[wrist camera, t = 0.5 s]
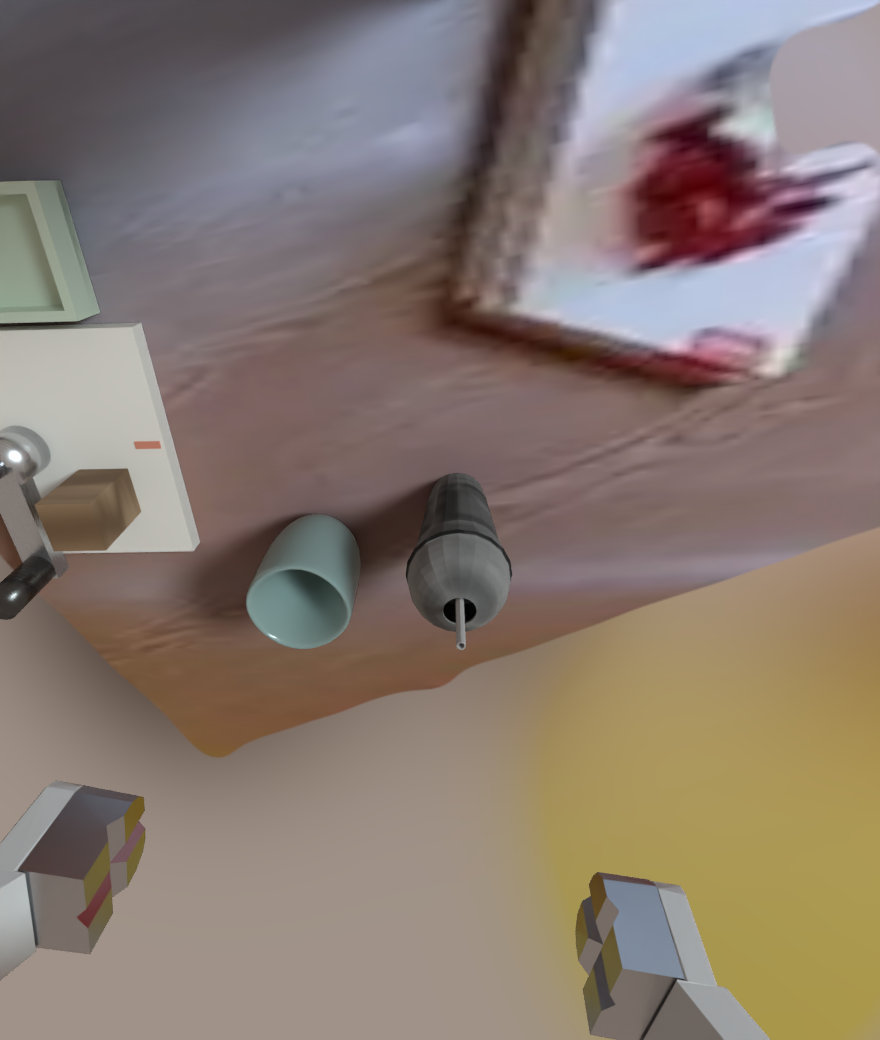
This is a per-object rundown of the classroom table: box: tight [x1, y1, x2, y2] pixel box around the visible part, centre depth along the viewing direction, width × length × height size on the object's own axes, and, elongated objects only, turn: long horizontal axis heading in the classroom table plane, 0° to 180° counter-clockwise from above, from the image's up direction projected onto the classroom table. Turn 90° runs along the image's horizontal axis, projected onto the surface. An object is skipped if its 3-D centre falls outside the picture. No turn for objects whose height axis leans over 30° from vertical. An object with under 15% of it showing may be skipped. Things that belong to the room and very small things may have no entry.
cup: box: [246, 514, 361, 649], centre depth 49 cm, size 8×8×10 cm
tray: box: [0, 180, 100, 323], centre depth 40 cm, size 8×8×3 cm
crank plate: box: [0, 323, 200, 553], centre depth 48 cm, size 19×15×2 cm
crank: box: [0, 425, 69, 620], centre depth 46 cm, size 12×4×8 cm, turn 2°
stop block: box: [35, 468, 141, 551], centre depth 47 cm, size 4×4×6 cm
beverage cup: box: [406, 473, 512, 650], centre depth 42 cm, size 7×7×20 cm
